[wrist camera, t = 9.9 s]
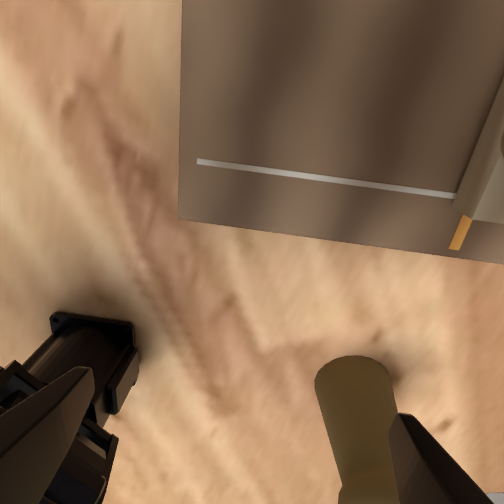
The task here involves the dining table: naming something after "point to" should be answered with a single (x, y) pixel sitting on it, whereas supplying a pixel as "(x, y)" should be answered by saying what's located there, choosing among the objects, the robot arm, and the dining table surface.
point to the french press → (496, 497)
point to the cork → (359, 427)
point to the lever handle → (486, 171)
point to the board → (339, 118)
